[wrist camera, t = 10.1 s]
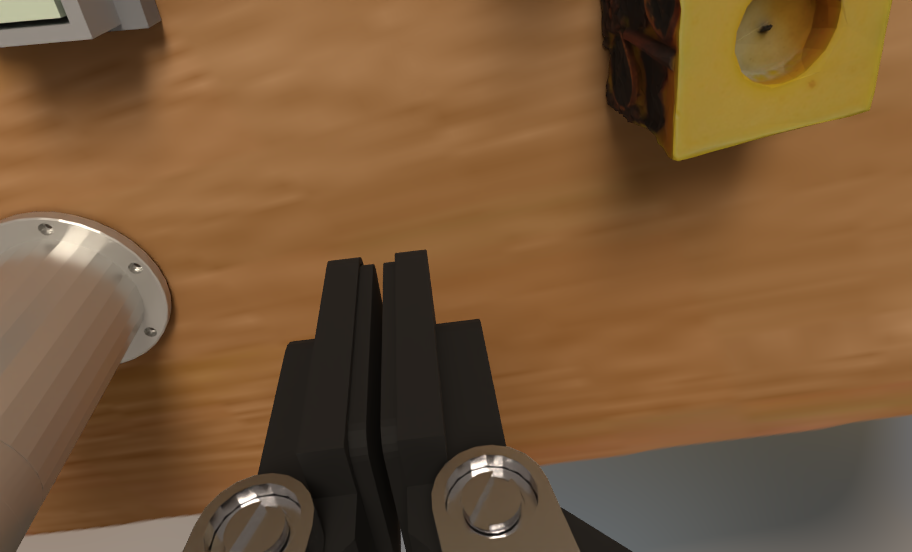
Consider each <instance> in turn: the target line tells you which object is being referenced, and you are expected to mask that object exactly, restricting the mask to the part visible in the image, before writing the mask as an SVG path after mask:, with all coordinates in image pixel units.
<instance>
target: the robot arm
mask: <svg viewBox="0 0 912 552" xmlns="http://www.w3.org/2000/svg"><path fill="white" fill-rule="evenodd" d="M171 309H172V306H171V294H170V291H169V288H168V285H167V282H166V280H165V278H164V276H163V275H162V273H161V271H160V269H159V268H158V266H157V265H156V264H155V263H154V262H153V260H152V259H151V258H150V257H149V256H148V254H147V253H146V252H144V251H143V250H142V249H141V248H140V247H139V246H137V245H136V244H135V243H134V242H133V241H131V240H130V239H128V238H127V237H125V236H123V235H122V234H120V233H119V232H117V231H116V230H114V229H111V228H109V227H107V226H105V225H103V224H100V223H98V222H96V221H93V220H90V219H86V218H83V217H80V216H76V215H71V214H65V213H58V212H30V213H23V214H17V215H13V216H11V217H8V218H5V219H3V220H0V552H16V550H17V549H18V547H19V545H20V543H21V541H22V539H23V538H24V536H25V534H26V532H27V530H28V529H29V527H30V525H31V523H32V521H33V519H34V518H35V516H36V514H37V512H38V510H39V509H40V507H41V505H42V503H43V502H44V500H45V498H46V496H47V495H48V493H49V491H50V489H51V487H52V485H53V484H54V482H55V480H56V478H57V477H58V475H59V473H60V471H61V469H62V467H63V466H64V464H65V462H66V460H67V458H68V457H69V455H70V453H71V451H72V449H73V448H74V446H75V444H76V442H77V440H78V439H79V437H80V435H81V433H82V431H83V429H84V428H85V426H86V424H87V422H88V420H89V419H90V417H91V415H92V413H93V411H94V410H95V408H96V406H97V404H98V402H99V401H100V399H101V397H102V395H103V393H104V391H105V390H106V388H107V386H108V384H109V382H110V381H111V379H112V377H113V375H114V373H115V372H116V370H117V368H118V366H119V364H121V363H124V362H127V361H130V360H133V359H135V358H137V357H139V356H141V355H143V354H144V353H146V352H147V351H149V350H150V349H151V348H152V347H153V346H154V345H155V344H156V343H157V342H158V340H159V339H160V337H161V336H162V334H163V333H164V331H165V329H166V326H167V324H168V322H169V319H170V314H171ZM400 528H401V529H400ZM401 532H402V536H403V540H404V544H405V549H406V552H632V551H630V550H628V549H627V548H626V547H624V546H622V545H621V544H619V543H618V542H616V541H614V540H613V539H611V538H610V537H608V536H606V535H604V534H603V533H601V532H600V531H598V530H597V529H595V528H593V527H592V526H590V525H589V524H587V523H585V522H584V521H582V520H580V519H579V518H577V517H576V516H574V515H573V514H571V513H569V512H568V511H566V510H565V509H563V508H561V507H560V505H559V503H558V501H557V498H556V496H555V494H554V492H553V489H552V487H551V485H550V483H549V481H548V478H547V477H546V475H545V474H544V472H543V471H542V469H541V468H540V466H539V465H538V464H537V463H536V462H535V461H533V460H532V459H531V458H530V457H528V456H527V455H526V454H524V453H522V452H520V451H517V450H515V449H513V448H510V447H506V444H505V439H504V434H503V429H502V424H501V419H500V414H499V410H498V405H497V400H496V395H495V390H494V385H493V380H492V375H491V370H490V365H489V361H488V356H487V351H486V346H485V341H484V336H483V331H482V327H481V322H480V320H479V319H474V320H466V321H457V322H449V323H441V324H436V320H435V312H434V304H433V296H432V289H431V281H430V273H429V265H428V258H427V251H426V250H418V251H410V252H401V253H395V262H388V263H384V264H383V304H382V299H381V294H380V289H379V283H378V278H377V273H376V268H375V265H374V264H371V265H363V261H362V259H361V257H359V258H350V259H342V260H333V261H328V263H327V268H326V274H325V280H324V286H323V292H322V298H321V305H320V311H319V317H318V323H317V329H316V335H315V339H309V340H301V341H293V342H290V343H289V344H288V345H287V348H286V351H285V355H284V359H283V364H282V368H281V373H280V377H279V382H278V386H277V391H276V395H275V400H274V404H273V409H272V413H271V418H270V422H269V427H268V431H267V436H266V440H265V444H264V449H263V453H262V458H261V462H260V467H259V471H258V475H254V476H252V477H249V478H247V479H244V480H241V481H239V482H236V483H235V484H233V485H232V486H230V487H229V488H227V489H226V490H224V491H223V492H221V493H220V494H219V495H218V496H217V497H216V498H215V499H214V500H213V501H212V502H211V503H210V504H209V505H208V506H207V507H206V508H205V509H204V511H203V513H202V514H201V516H200V518H199V519H198V521H197V522H196V524H195V526H194V528H193V530H192V532H191V534H190V537H189V539H188V541H187V543H186V546H185V547H184V550H183V552H401V535H400V534H401Z"/></svg>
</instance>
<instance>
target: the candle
mask: <svg viewBox="0 0 912 552" xmlns="http://www.w3.org/2000/svg"><path fill="white" fill-rule="evenodd" d="M891 4H892V0H601V6H602V13H603V16H602V32H603V35H604V36H605V37H606V38H605V39H604V41H603V46H604V47H605V48H606V49H609V52H610V55H611V56H610V64H609V77H608V81H607V85H606V88H607V93H606V97H607V101H608V105H610V106H611V107H612V108H614V110H615V111H619V114H623V117H625V118H627V121H628V122H631V123H635V124H637V125H639V126H643V127H645V128H648V129H649V130H650V131H651V132H652V133H653V134H654V135H655V136H656V139H657V143H658V144H659V145H660V146H662V147H663V149H664V150H665V152H666V154H667V156H668V157H669V158H671V159H673V160H676V161H680V160H684V159H688V158H692V157H696V156H699V155H703V154H706V153H709V152H713V151H717V150H721V149H724V148H728V147H732V146H736V145H739V144H742V143H745V142H749V141H752V140H756V139H760V138H764V137H767V136H771V135H775V134H779V133H783V132H787V131H791V130H795V129H799V128H802V127H806V126H810V125H815V124H819V123H823V122H827V121H831V120H836V119H841V118H846V117H850V116H853V115H856V114H860V113H863V112H866V111H869V110H870V107H871V103H872V99H873V96H874V92H875V86H876V81H877V76H878V70H879V65H880V60H881V55H882V51H883V44H884V38H885V33H886V28H887V23H888V19H889V14H890V9H891Z"/></svg>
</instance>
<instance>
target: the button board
mask: <svg viewBox="0 0 912 552" xmlns="http://www.w3.org/2000/svg"><path fill="white" fill-rule="evenodd" d="M61 3H62V5H63V7H64V10H65V12H66V15H67V16H64V17H62V18H53V19H41V20H30V21H19V22H8V23H0V47H10V46H21V45H32V44H43V43H54V42H65V41H76V40H88V39H94V38H96V37H98V36H99V35H101V34H103V33H105V32H109V31H121V30H132V29H143V28H150V27H151V26H153V25H155V24H156V23H158V22H160V21H161V18H160V15H159V12H158V9H157V6H156V3H155V0H61Z"/></svg>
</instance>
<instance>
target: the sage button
mask: <svg viewBox="0 0 912 552" xmlns="http://www.w3.org/2000/svg"><path fill="white" fill-rule="evenodd" d="M64 16H67V15H66V12H65V10H64V7H63V5H62V3H61V0H0V23H8V22H19V21H30V20H41V19H53V18H62V17H64Z"/></svg>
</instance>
